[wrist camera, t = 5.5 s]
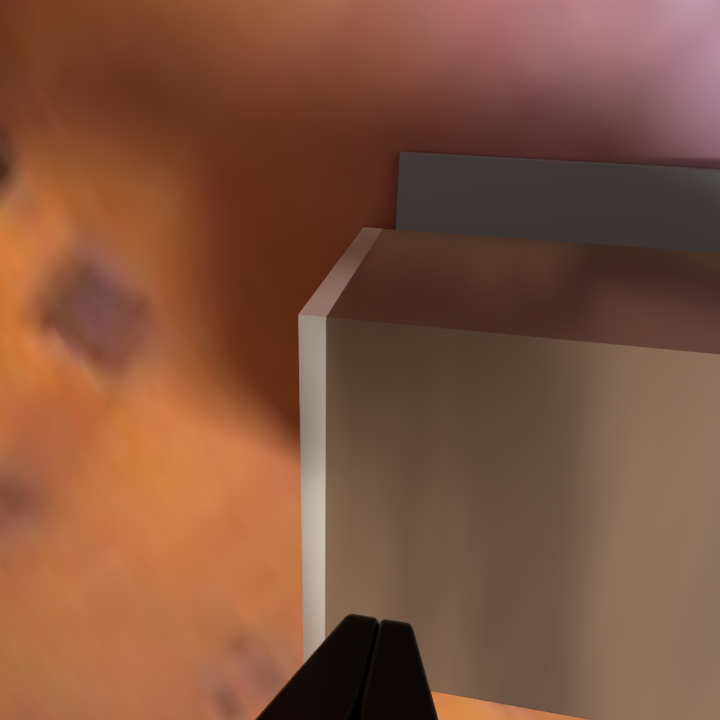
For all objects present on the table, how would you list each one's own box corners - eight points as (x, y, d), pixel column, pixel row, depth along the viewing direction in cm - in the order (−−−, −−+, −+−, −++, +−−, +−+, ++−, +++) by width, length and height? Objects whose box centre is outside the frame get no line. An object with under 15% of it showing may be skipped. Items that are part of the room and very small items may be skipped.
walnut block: (304, 668, 13) (837, 764, 11) (297, 314, 10) (1028, 383, 8) (355, 503, 17) (742, 557, 16) (363, 227, 14) (843, 262, 13)
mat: (381, 547, 18) (380, 555, 18) (401, 151, 14) (399, 153, 13) (773, 605, 16) (778, 614, 16) (936, 181, 12) (946, 183, 12)
